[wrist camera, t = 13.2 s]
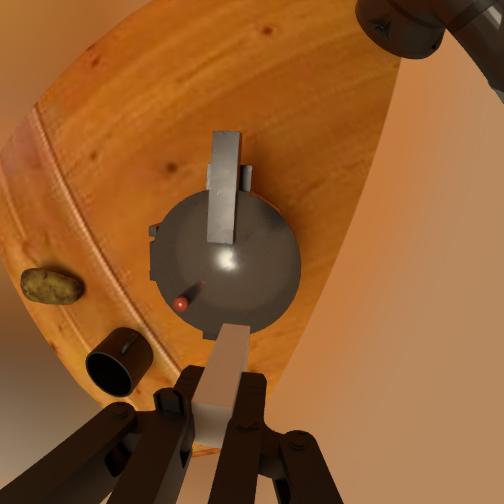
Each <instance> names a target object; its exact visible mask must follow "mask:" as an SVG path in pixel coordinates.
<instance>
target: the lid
mask: <svg viewBox="0 0 504 504" xmlns="http://www.w3.org/2000/svg"><path fill="white" fill-rule="evenodd" d="M241 147H242V133H241V132H240V131H213V141H212V154H211V169H210V186H209V190H205V191H202V192H199V193H196V194H194V195H191V196H189V197H187V198H186V199H184V200H183V201H181V202H180V203H178V204H177V205H176V206H175V207H174V208H173V209H172V210H171V211H170V212H169V213H168V214H167V215H166V217H165V218H164V220H163V221H162V223H161V224H160V227H159V229H158V231H157V233H156V236H155V240H154V241H151V242H150V272H151V276H154V277H155V280H156V283H157V286H158V288H159V291H160V293H161V295H162V296H163V298H164V300H165V301H166V303H167V304H168V305H169V306H170V308H171V309H172V310H173V311H174V312H175V313H176V314H177V315H178V316H179V317H180V318H182V319H183V320H184V321H185V322H187V323H188V324H190V325H192V326H193V327H195V328H197V329H199V330H202V331H204V332H207V333H210V334H215V335H219V333H220V330H221V328H222V325H223V323H226V324H235V325H244V326H250V334H251V333H255V332H257V331H260V330H262V329H264V328H266V327H268V326H269V325H271V324H272V323H274V322H275V321H276V320H277V319H279V318H280V317H281V316H282V314H283V313H284V312H285V311H286V310H287V309H288V307H289V306H290V304H291V303H292V301H293V299H294V297H295V295H296V292H297V289H298V286H299V281H300V276H301V259H300V252H299V247H298V243H297V240H296V238H295V235H294V233H293V231H292V229H291V227H290V226H289V224H288V223H287V221H286V220H285V219H284V217H283V216H282V215H281V214H280V213H279V212H278V211H277V210H276V209H275V208H274V207H273V206H271V205H270V204H269V203H268V202H266V201H264V200H263V199H261V198H259V197H258V196H255V195H253V194H250V193H248V192H244V191H240V190H239V176H240V161H241Z"/></svg>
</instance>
